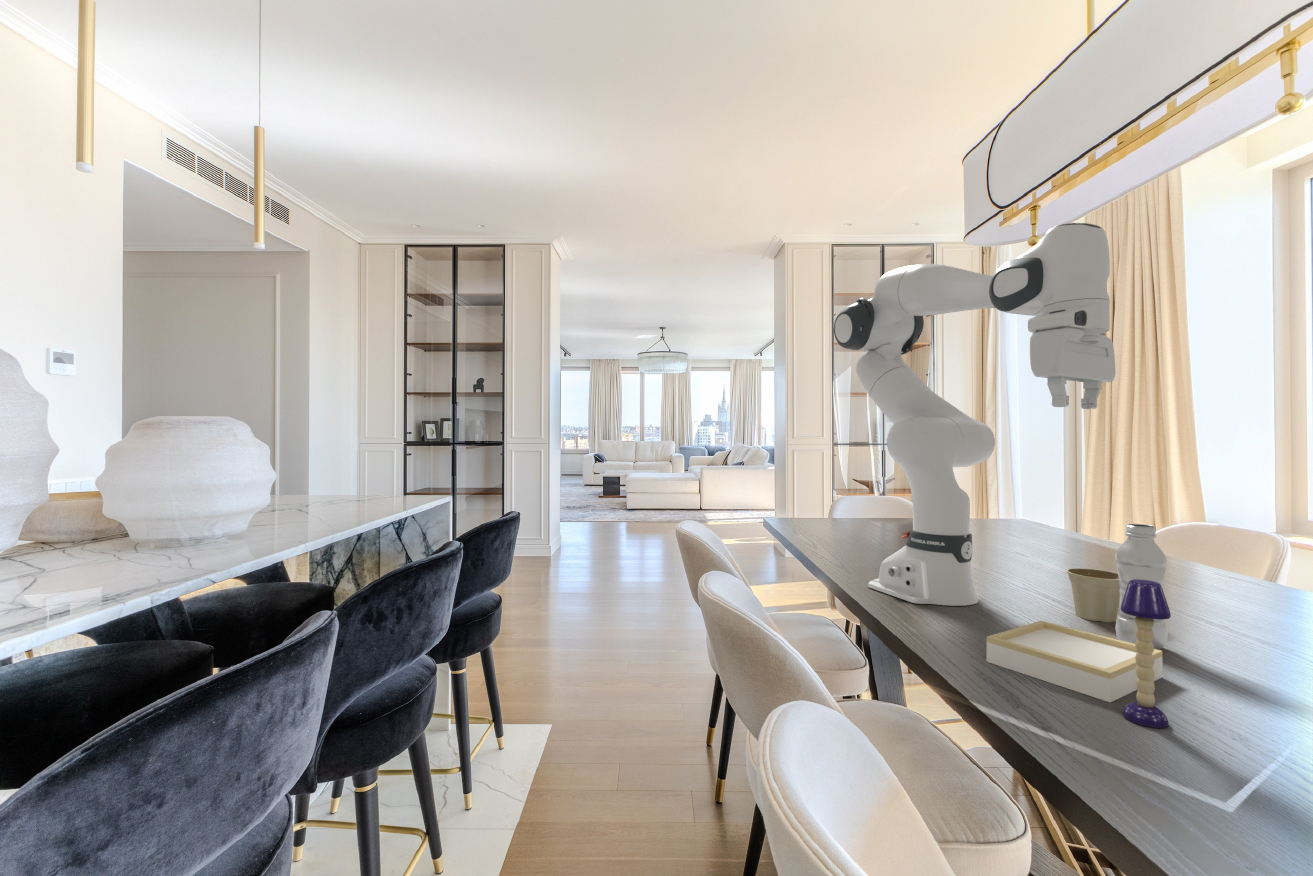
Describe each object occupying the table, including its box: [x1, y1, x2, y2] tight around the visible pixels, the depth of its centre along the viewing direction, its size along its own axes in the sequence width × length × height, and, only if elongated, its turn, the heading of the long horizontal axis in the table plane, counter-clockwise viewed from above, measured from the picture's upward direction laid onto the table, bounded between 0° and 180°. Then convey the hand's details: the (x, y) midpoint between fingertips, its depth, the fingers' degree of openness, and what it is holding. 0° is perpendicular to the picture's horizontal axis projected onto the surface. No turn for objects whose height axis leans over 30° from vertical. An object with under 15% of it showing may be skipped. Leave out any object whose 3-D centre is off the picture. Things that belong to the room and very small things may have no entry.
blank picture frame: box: [986, 620, 1163, 703], centre depth 86 cm, size 16×16×4 cm
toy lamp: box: [1121, 579, 1171, 729], centre depth 70 cm, size 5×5×17 cm
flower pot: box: [1065, 567, 1120, 623], centre depth 111 cm, size 9×9×9 cm
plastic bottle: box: [1114, 523, 1169, 650], centre depth 95 cm, size 6×7×20 cm
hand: (1075, 408), depth 94 cm, fingers open, 8 cm apart
